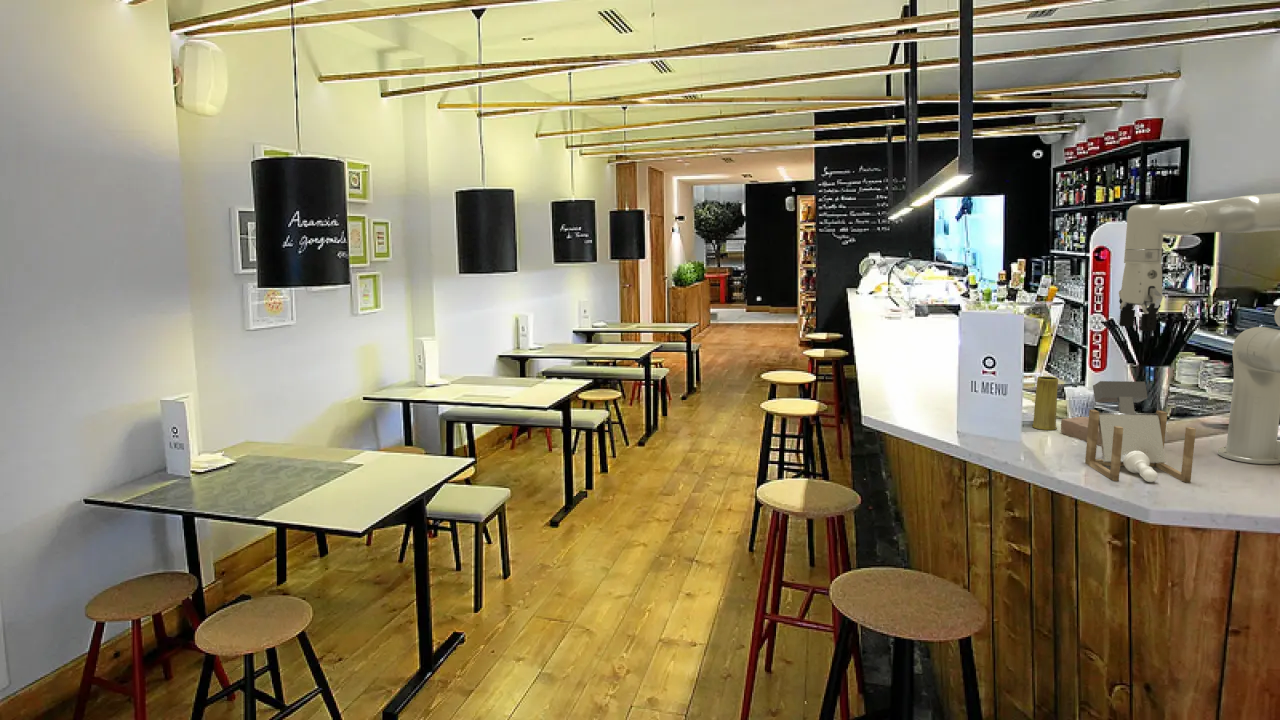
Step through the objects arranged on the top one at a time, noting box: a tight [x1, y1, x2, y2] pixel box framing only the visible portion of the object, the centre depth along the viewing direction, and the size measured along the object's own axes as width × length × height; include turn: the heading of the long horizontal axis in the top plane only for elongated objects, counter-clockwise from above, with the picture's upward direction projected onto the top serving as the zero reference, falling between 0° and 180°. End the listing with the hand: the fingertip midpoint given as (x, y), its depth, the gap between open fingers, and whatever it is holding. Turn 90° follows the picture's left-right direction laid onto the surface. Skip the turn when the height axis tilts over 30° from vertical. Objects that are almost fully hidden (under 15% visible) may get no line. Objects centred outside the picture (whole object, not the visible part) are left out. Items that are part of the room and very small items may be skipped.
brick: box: [1060, 416, 1101, 447], centre depth 212 cm, size 16×8×5 cm, turn 15°
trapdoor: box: [1092, 380, 1166, 464], centre depth 187 cm, size 19×13×4 cm
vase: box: [1031, 375, 1059, 431], centre depth 224 cm, size 6×6×14 cm
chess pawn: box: [1123, 451, 1159, 483], centre depth 178 cm, size 5×5×9 cm
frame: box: [1084, 409, 1197, 484], centre depth 181 cm, size 16×14×13 cm
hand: (1137, 328), depth 194 cm, fingers open, 9 cm apart
